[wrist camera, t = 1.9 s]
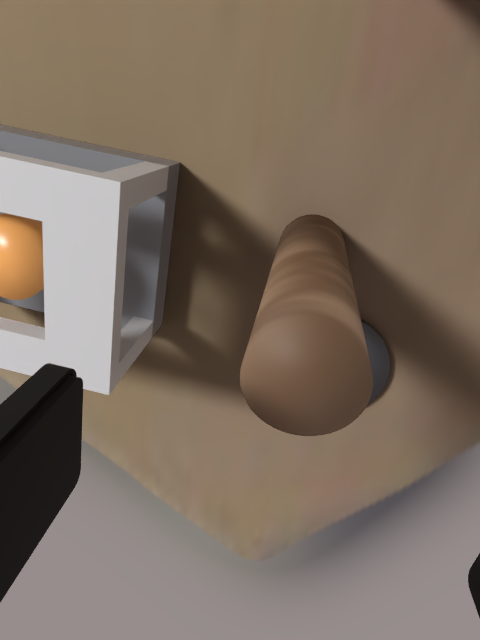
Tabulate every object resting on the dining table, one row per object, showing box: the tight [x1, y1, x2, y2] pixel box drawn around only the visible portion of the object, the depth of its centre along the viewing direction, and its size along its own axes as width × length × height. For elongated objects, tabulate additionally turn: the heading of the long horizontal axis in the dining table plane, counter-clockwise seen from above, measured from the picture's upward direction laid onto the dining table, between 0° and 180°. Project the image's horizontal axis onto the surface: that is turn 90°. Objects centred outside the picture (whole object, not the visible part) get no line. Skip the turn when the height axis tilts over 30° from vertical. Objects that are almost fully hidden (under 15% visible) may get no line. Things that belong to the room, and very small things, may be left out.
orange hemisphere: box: [0, 213, 44, 300], centre depth 21 cm, size 4×4×2 cm
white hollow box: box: [0, 125, 180, 395], centre depth 23 cm, size 12×10×8 cm
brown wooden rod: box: [240, 215, 373, 436], centre depth 18 cm, size 4×4×14 cm
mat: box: [361, 320, 390, 403], centre depth 27 cm, size 7×7×1 cm
